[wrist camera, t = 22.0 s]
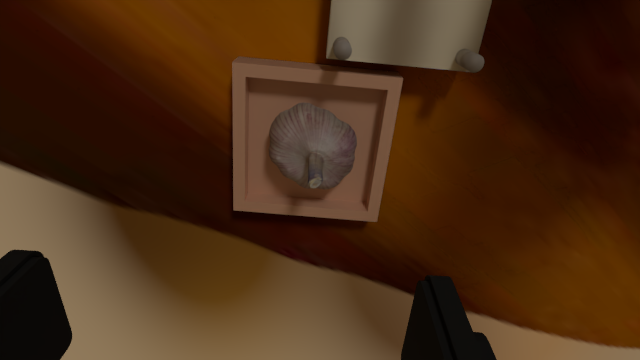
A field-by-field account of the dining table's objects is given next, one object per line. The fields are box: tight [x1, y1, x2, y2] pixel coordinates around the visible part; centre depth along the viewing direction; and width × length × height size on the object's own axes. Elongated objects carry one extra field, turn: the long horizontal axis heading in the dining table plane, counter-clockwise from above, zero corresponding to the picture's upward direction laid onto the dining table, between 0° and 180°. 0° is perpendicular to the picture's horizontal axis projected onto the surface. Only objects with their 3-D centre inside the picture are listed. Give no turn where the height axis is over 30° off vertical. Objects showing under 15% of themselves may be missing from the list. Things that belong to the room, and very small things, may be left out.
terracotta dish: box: [232, 57, 403, 222], centre depth 34 cm, size 13×13×2 cm
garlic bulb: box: [269, 102, 357, 190], centre depth 31 cm, size 8×7×8 cm
